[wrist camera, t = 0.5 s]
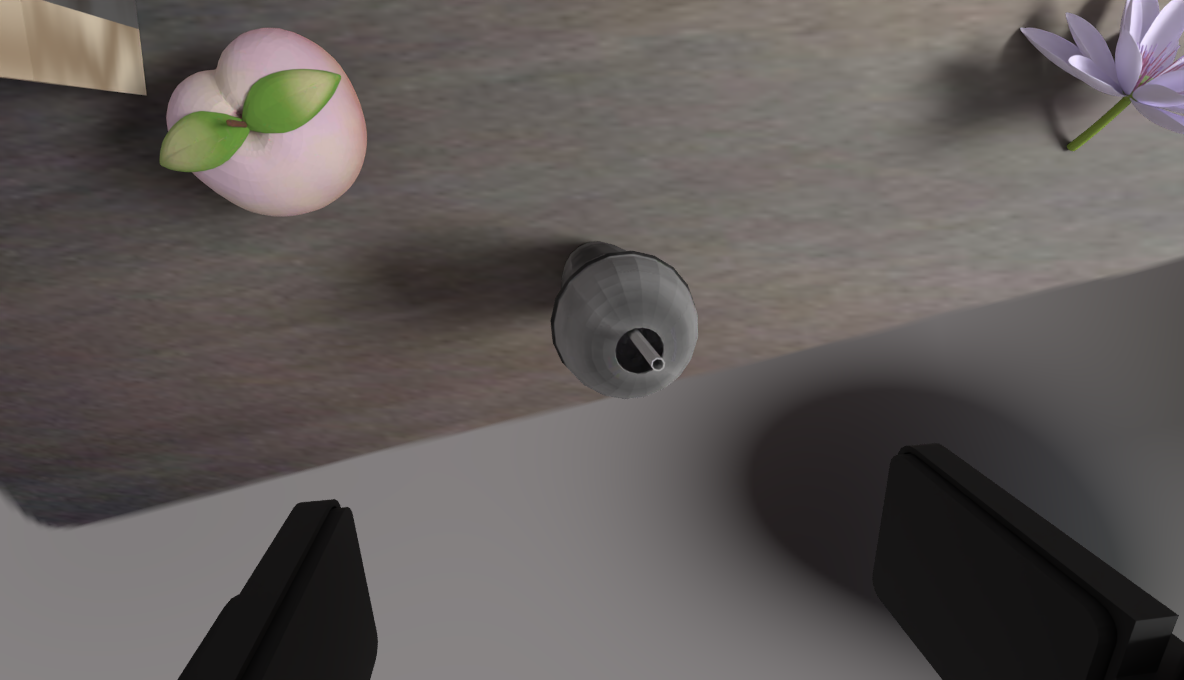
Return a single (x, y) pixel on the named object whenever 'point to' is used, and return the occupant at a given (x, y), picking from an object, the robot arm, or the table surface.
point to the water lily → (1126, 62)
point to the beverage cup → (623, 321)
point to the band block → (72, 43)
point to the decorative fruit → (269, 125)
